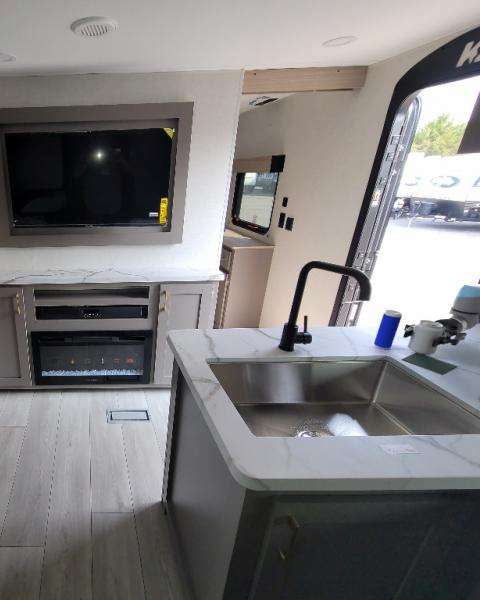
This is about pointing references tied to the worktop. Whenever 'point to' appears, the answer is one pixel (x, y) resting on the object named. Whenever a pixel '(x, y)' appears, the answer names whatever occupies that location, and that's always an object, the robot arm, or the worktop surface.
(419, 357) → the mat
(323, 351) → the worktop surface
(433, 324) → the can
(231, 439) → the worktop surface
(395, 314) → the beverage can
